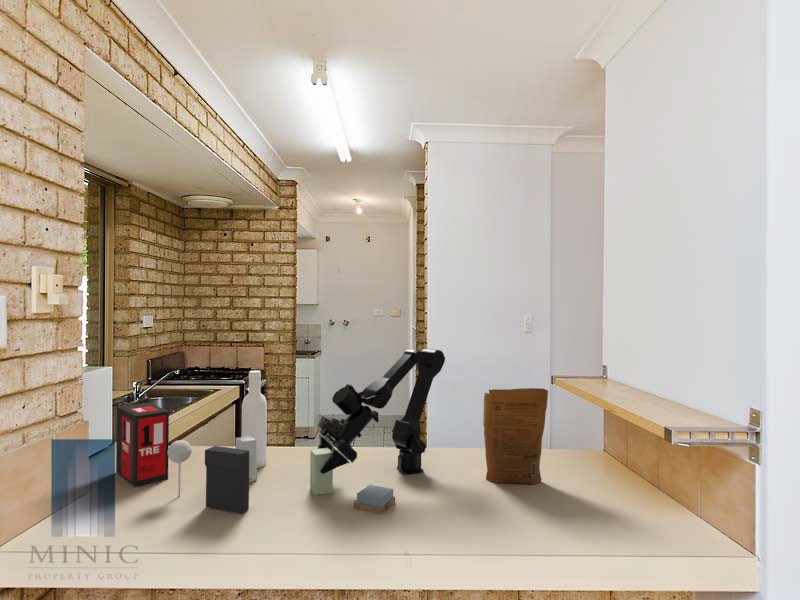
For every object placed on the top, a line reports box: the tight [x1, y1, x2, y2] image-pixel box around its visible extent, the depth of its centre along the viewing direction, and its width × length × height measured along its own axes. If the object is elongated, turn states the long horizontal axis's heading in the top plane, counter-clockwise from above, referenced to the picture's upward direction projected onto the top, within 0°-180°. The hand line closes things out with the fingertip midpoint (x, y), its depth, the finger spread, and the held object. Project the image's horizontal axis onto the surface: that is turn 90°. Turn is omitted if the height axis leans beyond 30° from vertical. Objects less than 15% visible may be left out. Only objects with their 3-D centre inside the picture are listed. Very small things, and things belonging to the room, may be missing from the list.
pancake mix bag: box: [482, 387, 549, 485], centre depth 145 cm, size 7×19×28 cm, turn 87°
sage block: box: [309, 448, 334, 496], centre depth 137 cm, size 5×5×11 cm
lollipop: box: [167, 439, 193, 498], centre depth 132 cm, size 6×6×15 cm
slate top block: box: [356, 484, 394, 507], centre depth 127 cm, size 7×7×2 cm
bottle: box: [241, 370, 268, 469], centre depth 157 cm, size 8×8×30 cm
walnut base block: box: [353, 495, 396, 515], centre depth 128 cm, size 8×8×2 cm
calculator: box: [204, 445, 250, 515], centre depth 125 cm, size 11×4×15 cm, turn 71°
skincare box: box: [235, 436, 258, 483], centre depth 145 cm, size 6×4×12 cm
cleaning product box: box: [115, 402, 170, 488], centre depth 147 cm, size 16×9×20 cm, turn 46°
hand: (316, 467), depth 136 cm, fingers open, 9 cm apart
